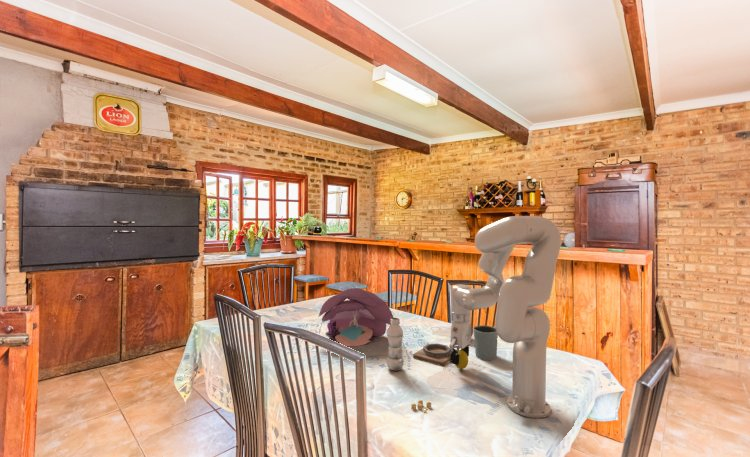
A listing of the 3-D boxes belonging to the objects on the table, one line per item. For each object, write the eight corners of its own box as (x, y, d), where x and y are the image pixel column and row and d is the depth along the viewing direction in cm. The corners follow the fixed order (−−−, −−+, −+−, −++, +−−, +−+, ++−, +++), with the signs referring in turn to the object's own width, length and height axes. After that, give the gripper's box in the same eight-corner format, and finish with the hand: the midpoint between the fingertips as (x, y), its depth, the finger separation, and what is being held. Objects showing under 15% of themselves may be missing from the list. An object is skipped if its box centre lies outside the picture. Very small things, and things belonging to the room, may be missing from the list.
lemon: (457, 365, 141) (457, 346, 141) (470, 369, 138) (470, 349, 137) (451, 370, 137) (451, 350, 137) (464, 374, 133) (464, 353, 133)
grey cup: (499, 362, 145) (499, 333, 144) (474, 360, 147) (474, 331, 146) (496, 352, 155) (496, 325, 154) (472, 351, 157) (472, 324, 156)
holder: (443, 366, 141) (443, 358, 140) (413, 357, 149) (413, 350, 149) (459, 353, 153) (459, 346, 153) (430, 346, 162) (431, 339, 162)
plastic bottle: (389, 373, 134) (389, 322, 133) (384, 366, 140) (384, 317, 140) (405, 371, 135) (405, 320, 135) (399, 364, 142) (399, 315, 141)
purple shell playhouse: (325, 359, 159) (320, 303, 152) (317, 333, 181) (312, 283, 174) (396, 343, 169) (395, 290, 162) (380, 321, 191) (379, 272, 184)
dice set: (410, 411, 109) (410, 405, 109) (418, 403, 113) (418, 398, 113) (425, 416, 106) (425, 410, 106) (432, 408, 110) (432, 402, 110)
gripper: (461, 324, 128) (459, 370, 128) (478, 313, 141) (477, 354, 142) (442, 320, 132) (441, 364, 133) (460, 310, 146) (459, 350, 147)
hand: (459, 359), depth 138 cm, fingers open, 9 cm apart
